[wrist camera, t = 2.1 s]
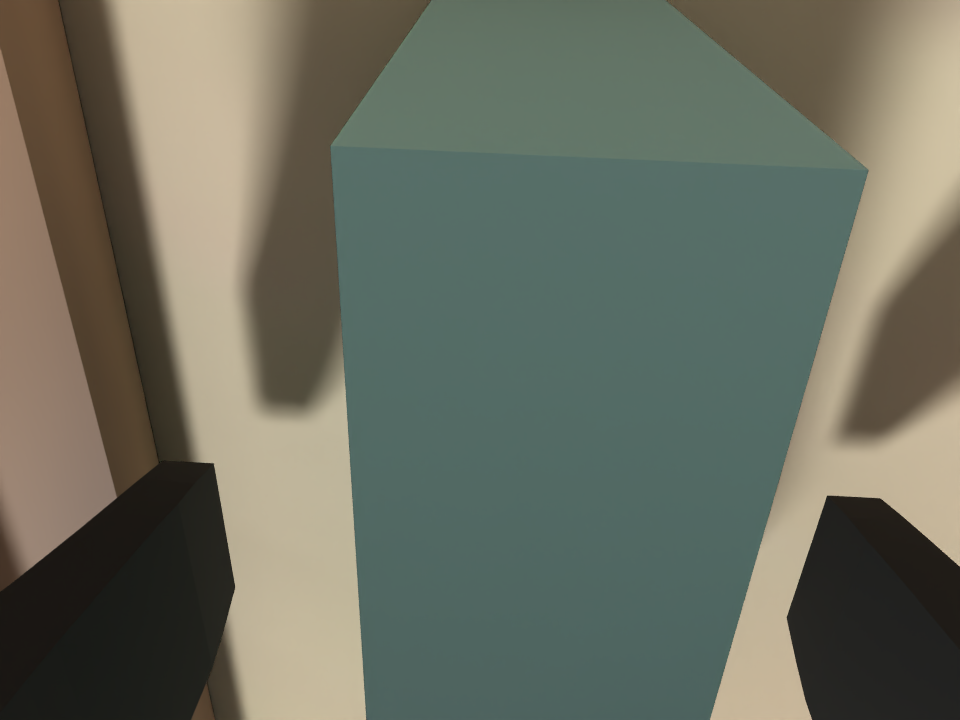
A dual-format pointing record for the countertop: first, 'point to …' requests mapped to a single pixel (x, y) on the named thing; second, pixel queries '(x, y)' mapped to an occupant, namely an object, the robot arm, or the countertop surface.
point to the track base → (58, 311)
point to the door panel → (571, 353)
